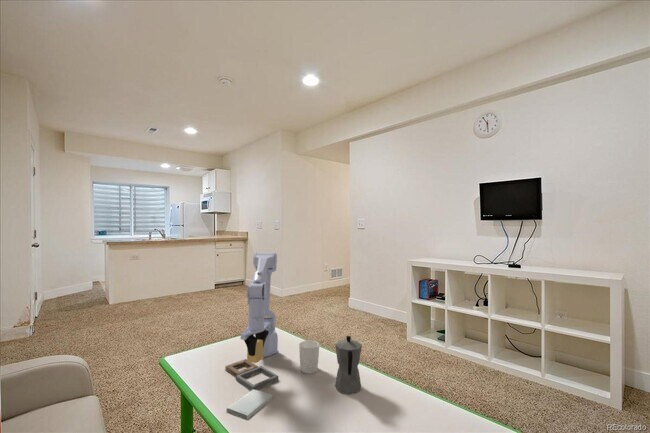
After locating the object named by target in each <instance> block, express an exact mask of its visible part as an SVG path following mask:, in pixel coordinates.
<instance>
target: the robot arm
mask: <svg viewBox="0 0 650 433" xmlns="http://www.w3.org/2000/svg"><path fill="white" fill-rule="evenodd" d="M277 263H278V255H277V253H276V252H255V253H254V254H253V268H254V269H255V272H254V273H253V275H252V277H251V281H250V284H248V285H247V288H246V296H247V304H248V318H247V319H248V323H247V325H248V326H246V329H245V330H244V331H243V332H241V333H240V340H243V342H244V343H245V346H246V349H248V353H249V355H250V356H254V355H255V348H256V343H257V340H258V339H261V340H263V359H264V358H265V357H268V356H271V355H274V354H277V353H279V350H278V348H279V346H278V345H279V344H278V343H279V341H278V340H279V336H278V333H277V332H276V325H277V324H276V322H277V320H276V314H275V312H274V311H272V310H271V309H270V306H271V305H270V303H271V283H272V282H271V280H272V279H271V278H272V274H273V273H274V272H276V271H277Z"/></svg>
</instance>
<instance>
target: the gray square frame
mask: <svg viewBox="0 0 650 433" xmlns="http://www.w3.org/2000/svg"><path fill="white" fill-rule="evenodd" d="M257 373H258V374H259V373H262V374H264V375H266V376H267V377H269V378H266V379H264V380H262V381H258V382H257V383H255V384H253V383H251V382H250V381H248V380H247V379H246V378H248V377H250V376H253V375H255V374H257ZM235 380H236V381H237V382H239V383H240V384H241V385H242V386H244V387H245V388H247V389H249V390H250V391H252V390H253V389H254V390H260V389H262V388H264V387H266V386H268V385H270V384H273V383H275V382H277V381H279V375H278V374H276V373H274V372H273V371H271V370H269V369H267V368H266V367H264V366H262V365H260V366H258V367H257V368H254V369H252V370H249V371H247V372H244V373H242V374H239V375H236V377H235Z"/></svg>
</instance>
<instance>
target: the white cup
mask: <svg viewBox="0 0 650 433" xmlns="http://www.w3.org/2000/svg"><path fill="white" fill-rule="evenodd" d="M298 345H299V363H300V364H299V365H300V367H299V369H300V371H301V372H302V373H303V374H307V373H309V374H314V372H315V373H316V372H317V371H318V370H319V368H318V367H319V366H318V365H319V357H320V343H319V342H318V341H316V340H303V341H300V343H299V344H298Z"/></svg>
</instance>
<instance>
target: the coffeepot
mask: <svg viewBox="0 0 650 433" xmlns="http://www.w3.org/2000/svg"><path fill="white" fill-rule="evenodd" d="M334 345H335V353H336V360H337V364H338V369H337V372H336V378H335V384H334V387H335V389H336V391H338V392H339V393H341V394H344V393H346V394H345V395H353V394H352V393H354V394H357V393H359V392H360V391H361V389H362V384H361V383H362V382H361V376H360V371H359V365H360V358H361V353H362V347H363V346H362V345H363V344H361V343H360V342H359V341H357V340H352V337H351V335H347V336H346V338H344V339H342V340H338V341H337V342H336V343H335V344H334ZM356 392H357V393H356Z"/></svg>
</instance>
